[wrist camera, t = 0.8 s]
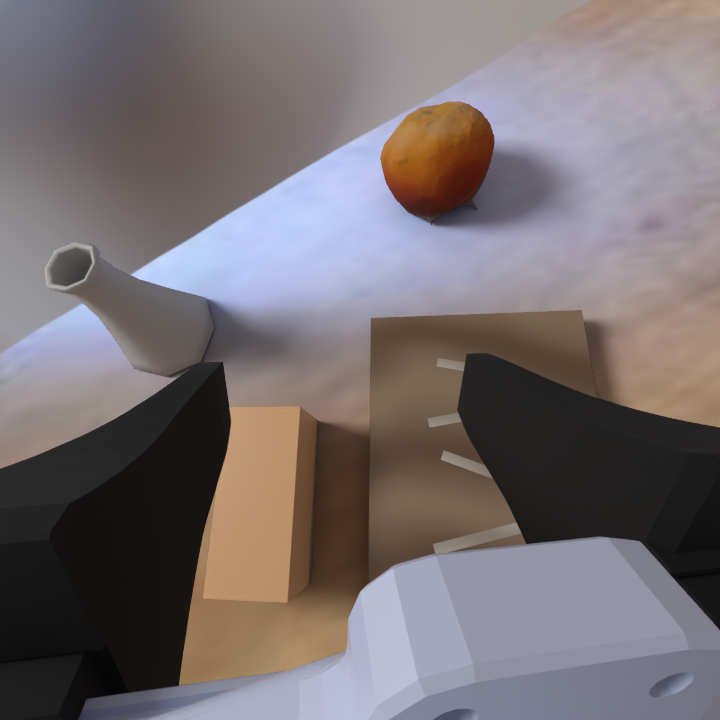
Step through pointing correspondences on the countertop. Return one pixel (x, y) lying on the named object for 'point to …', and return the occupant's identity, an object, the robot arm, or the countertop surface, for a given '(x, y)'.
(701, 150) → the countertop surface
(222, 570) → the block
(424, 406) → the board
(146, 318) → the flask
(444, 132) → the fruit
